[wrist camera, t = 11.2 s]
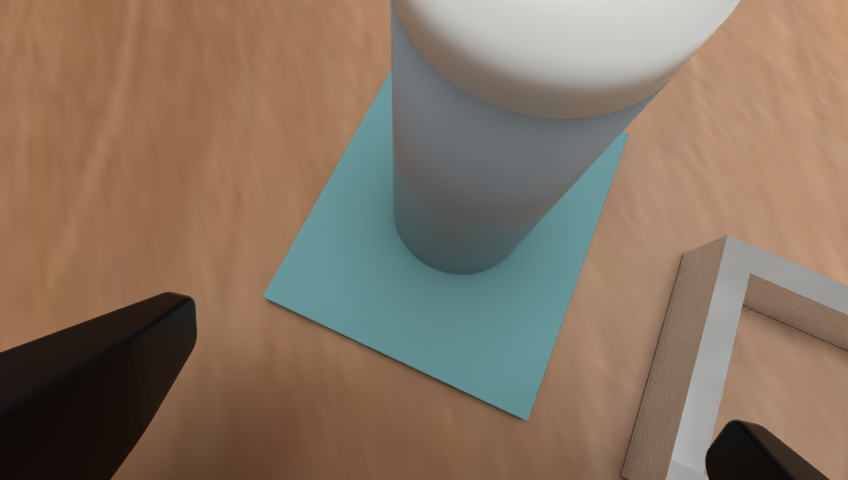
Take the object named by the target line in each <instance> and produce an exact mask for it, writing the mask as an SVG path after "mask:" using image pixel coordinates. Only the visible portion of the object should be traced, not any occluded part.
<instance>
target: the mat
mask: <svg viewBox="0 0 848 480" xmlns="http://www.w3.org/2000/svg"><path fill="white" fill-rule="evenodd" d="M627 137H628V133H625V132H622V133H621V134H620V135H619V136H618V137H617V138H616V139H615V140H614V141H613V143H612V144H611V145H610V146H609V147H608V148H607V149H606V150H605V151H604V152H603V153H602V154H601V156H600V157H599V158H598V159H597V160H596V161H595V162H594V163H593V164H592V165H591V166H590V168H589V169H588V170H587V171H586V172H585V173H584V174H583V175H582V176H581V177H580V178H579V180H578V181H577V182H576V183H575V184H574V185H573V186H572V187H571V188H570V189H569V190H568V191H567V193H566V194H565V195H564V196H563V197H562V198H561V199H560V200H559V201H558V202H557V203H556V205H555V206H554V207H553V208H552V209H551V210H550V211H549V212H548V213H547V214H546V215H545V217H544V218H543V219H542V220H541V221H540V222H539V223H538V224H537V225H536V226H535V227H534V228H533V230H532V231H531V232H530V233H529V234H528V235H527V236H526V237H525V238H524V239H523V240H522V242H521V243H520V244H519V245H518V246H517V247H516V248H515V249H514V250H513V251H512V252H511V253H510V254H509V255H508V256H507V257H506V258H505V259H504V260H503V261H502V262H500V263H499V264H498V265H496V266H494V267H492V268H490V269H488V270H485V271H482V272H478V273H474V274H465V275H464V274H451V273H446V272H442V271H439V270H436V269H434V268H432V267H430V266H428V265H426V264H425V263H423V262H421V261H420V260H419V259H418V258H416V257H415V256H414V255H413V254H412V253H411V252H410V251H409V250H408V248H407V247H406V246H405V244H404V243H403V241H402V239H401V237H400V236H399V233H398V230H397V228H396V224H395V220H394V198H393V129H392V70H391V71H390V73H389V75H388V77H387V78H386V80H385V82H384V84H383V85H382V87H381V89H380V91H379V93H378V94H377V96H376V98H375V100H374V101H373V103H372V105H371V107H370V108H369V110H368V112H367V114H366V116H365V117H364V119H363V121H362V123H361V124H360V126H359V128H358V130H357V131H356V133H355V135H354V137H353V138H352V140H351V142H350V144H349V146H348V147H347V149H346V151H345V153H344V154H343V156H342V158H341V160H340V161H339V163H338V165H337V167H336V169H335V170H334V172H333V174H332V176H331V177H330V179H329V181H328V183H327V184H326V186H325V188H324V190H323V191H322V193H321V195H320V197H319V199H318V200H317V202H316V204H315V206H314V207H313V209H312V211H311V213H310V214H309V216H308V218H307V220H306V221H305V223H304V225H303V227H302V229H301V230H300V232H299V234H298V236H297V237H296V239H295V241H294V243H293V244H292V246H291V248H290V250H289V252H288V253H287V255H286V257H285V259H284V260H283V262H282V264H281V266H280V267H279V269H278V271H277V273H276V274H275V276H274V278H273V280H272V282H271V283H270V285H269V287H268V289H267V290H266V292H265V294H264V296H263V297H264V298H266V299H268V300H270V301H272V302H274V303H276V304H278V305H281V306H283V307H285V308H287V309H289V310H291V311H293V312H295V313H298V314H300V315H302V316H304V317H306V318H308V319H310V320H312V321H315V322H317V323H319V324H321V325H323V326H325V327H327V328H329V329H332V330H334V331H336V332H338V333H340V334H342V335H344V336H346V337H349V338H351V339H353V340H355V341H357V342H359V343H361V344H363V345H366V346H368V347H370V348H372V349H374V350H376V351H378V352H380V353H383V354H385V355H387V356H389V357H391V358H393V359H395V360H397V361H400V362H402V363H404V364H406V365H408V366H410V367H412V368H414V369H417V370H419V371H421V372H423V373H425V374H427V375H429V376H431V377H434V378H436V379H438V380H440V381H442V382H444V383H446V384H448V385H451V386H453V387H455V388H457V389H459V390H461V391H463V392H465V393H468V394H470V395H472V396H474V397H476V398H478V399H480V400H482V401H485V402H487V403H489V404H491V405H493V406H495V407H497V408H500V409H502V410H504V411H506V412H508V413H510V414H512V415H514V416H517V417H519V418H521V419H523V420H526V421H528V419H529V416H530V413H531V410H532V408H533V405H534V402H535V399H536V396H537V393H538V390H539V388H540V385H541V382H542V379H543V376H544V373H545V371H546V368H547V365H548V362H549V359H550V356H551V353H552V351H553V348H554V345H555V342H556V339H557V336H558V334H559V331H560V328H561V325H562V322H563V319H564V316H565V314H566V311H567V308H568V305H569V302H570V299H571V297H572V294H573V291H574V288H575V285H576V282H577V280H578V277H579V274H580V271H581V268H582V265H583V262H584V260H585V257H586V254H587V251H588V248H589V245H590V243H591V240H592V237H593V234H594V231H595V228H596V225H597V223H598V220H599V217H600V214H601V211H602V208H603V206H604V203H605V200H606V197H607V194H608V191H609V189H610V186H611V183H612V180H613V177H614V174H615V171H616V169H617V166H618V163H619V160H620V157H621V154H622V152H623V149H624V146H625V143H626V140H627Z"/></svg>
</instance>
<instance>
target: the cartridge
mask: <svg viewBox="0 0 848 480" xmlns="http://www.w3.org/2000/svg"><path fill="white" fill-rule="evenodd" d="M739 2H740V0H391V60H392V129H393V198H394V220H395V224H396V228H397V230H398V233H399V236H400V237H401V239H402V241H403V243H404V244H405V246H406V247H407V248H408V250H409V251H410V252H411V253H412V254H413V255H414V256H415V257H416V258H418V259H419V260H420V261H421V262H423V263H425V264H426V265H428V266H430V267H432V268H434V269H436V270H439V271H442V272H446V273H451V274H464V275H465V274H474V273H478V272H482V271H485V270H488V269H490V268H492V267H494V266H496V265H498V264H499V263H500V262H502V261H503V260H504V259H505V258H506V257H507V256H508V255H509V254H510V253H511V252H512V251H513V250H514V249H515V248H516V247H517V246H518V245H519V244H520V243H521V242H522V240H523V239H524V238H525V237H526V236H527V235H528V234H529V233H530V232H531V231H532V230H533V228H534V227H535V226H536V225H537V224H538V223H539V222H540V221H541V220H542V219H543V218H544V217H545V215H546V214H547V213H548V212H549V211H550V210H551V209H552V208H553V207H554V206H555V205H556V203H557V202H558V201H559V200H560V199H561V198H562V197H563V196H564V195H565V194H566V193H567V191H568V190H569V189H570V188H571V187H572V186H573V185H574V184H575V183H576V182H577V181H578V180H579V178H580V177H581V176H582V175H583V174H584V173H585V172H586V171H587V170H588V169H589V168H590V166H591V165H592V164H593V163H594V162H595V161H596V160H597V159H598V158H599V157H600V156H601V154H602V153H603V152H604V151H605V150H606V149H607V148H608V147H609V146H610V145H611V144H612V143H613V141H614V140H615V139H616V138H617V137H618V136H619V135H620V134H621V133H622V132H623V131H624V129H625V128H626V127H627V126H628V125H629V124H630V123H631V122H632V121H633V120H634V119H635V118H636V116H637V115H638V114H639V113H640V112H641V111H642V110H643V109H644V108H645V107H646V106H647V104H648V103H649V102H650V101H651V100H652V99H653V98H654V97H655V96H656V95H657V94H658V92H659V91H660V90H661V89H662V88H663V87H664V86H665V85H666V84H667V83H668V82H669V81H670V79H671V78H672V77H673V76H674V75H675V74H676V73H677V72H678V71H679V70H680V69H681V67H682V66H683V65H684V64H685V63H686V62H687V61H688V60H689V59H690V58H691V57H692V55H693V54H694V53H695V52H696V51H697V50H698V49H699V48H700V47H701V46H702V45H703V44H704V42H705V41H706V40H707V39H708V38H709V37H710V36H711V35H712V34H713V33H714V32H715V30H716V29H717V28H718V27H719V26H720V25H721V24H722V23H723V22H724V21H725V20H726V19H727V17H728V16H729V15H730V14H731V12H732V11H733V10H734V8H735V7H736V6H737V4H738V3H739Z"/></svg>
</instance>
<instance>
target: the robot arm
mask: <svg viewBox="0 0 848 480" xmlns="http://www.w3.org/2000/svg"><path fill="white" fill-rule="evenodd" d="M196 339H197V325H196V307H195V302H194V300H193V298H191V297H190V296H186V295H182V294H178V293H173V292H165V293H162V294H159V295H156V296H154V297H151V298H148V299H146V300H143V301H140V302H137V303H135V304H132V305H129V306H126V307H124V308H121V309H118V310H115V311H113V312H110V313H107V314H104V315H102V316H99V317H96V318H94V319H91V320H88V321H85V322H83V323H80V324H77V325H74V326H72V327H69V328H66V329H63V330H61V331H58V332H55V333H52V334H50V335H47V336H44V337H42V338H39V339H36V340H33V341H31V342H28V343H25V344H22V345H20V346H17V347H14V348H11V349H9V350H6V351H3V352H0V480H110V479H111V478H112V477H113V475H114V474H115V473H116V471H117V470H118V468H119V467H120V466H121V464H122V463H123V462H124V460H125V459H126V457H127V456H128V455H129V453H130V452H131V451H132V449H133V448H134V446H135V445H136V444H137V442H138V441H139V439H140V438H141V436H142V435H143V433H144V432H145V430H146V429H147V427H148V426H149V424H150V422H151V421H152V419H153V417H154V416H155V414H156V412H157V411H158V409H159V407H160V405H161V404H162V402H163V400H164V399H165V397H166V395H167V393H168V392H169V390H170V388H171V387H172V385H173V383H174V381H175V380H176V378H177V376H178V374H179V373H180V371H181V369H182V368H183V366H184V364H185V362H186V361H187V359H188V357H189V356H190V354H191V352H192V350H193V348H194V346H195V343H196ZM705 466H706V471H707V475H708V479H709V480H830V479H828V478H827V477H826V476H825V475H823V474H822V473H821V472H820V471H818V470H817V469H816V468H815V467H813V466H812V465H811V464H810V463H808V462H807V461H806V460H805V459H803V458H802V457H801V456H800V455H798V454H797V453H796V452H794V451H793V450H792V449H791V448H789V447H788V446H787V445H786V444H784V443H783V442H782V441H781V440H779V439H778V438H777V437H776V436H774V435H773V434H772V433H771V432H769V431H768V430H767V429H766V428H764V427H763V426H761V425H758V424H755V423H750V422H746V421H741V420H732V421H730V422H728V423H727V424H726V425H725V427H724V428H723V430H722V431H721V432H720V434H719V435H718V436H717V438H716V439H715V440H714V442H713V443H712V445H711V446H710V447H709V449H708V450H707V453H706V457H705Z"/></svg>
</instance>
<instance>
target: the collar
mask: <svg viewBox="0 0 848 480" xmlns="http://www.w3.org/2000/svg"><path fill="white" fill-rule="evenodd" d="M743 305H744V306H746V307H749V308H751V309H753V310H756V311H758V312H760V313H762V314H765V315H767V316H769V317H772V318H774V319H776V320H779V321H781V322H783V323H785V324H788V325H790V326H792V327H795V328H797V329H799V330H802V331H804V332H806V333H808V334H811V335H813V336H815V337H818V338H820V339H822V340H825V341H827V342H829V343H831V344H834V345H836V346H838V347H841V348H843V349H845V350H848V286H847V285H845V284H842V283H840V282H838V281H835V280H833V279H831V278H828V277H826V276H824V275H821V274H819V273H817V272H814V271H812V270H809V269H807V268H805V267H802V266H800V265H798V264H795V263H793V262H791V261H788V260H786V259H784V258H781V257H779V256H776V255H774V254H772V253H769V252H767V251H765V250H762V249H760V248H758V247H755V246H753V245H751V244H748V243H746V242H743V241H741V240H739V239H736V238H734V237H732V236H729V235H726V236H724V237H722V238H719V239H717V240H715V241H712V242H710V243H708V244H705V245H703V246H700V247H698V248H696V249H693V250H691V251H689V252H686V253H684V254H683V257H682V261H681V264H680V268H679V271H678V275H677V278H676V282H675V285H674V289H673V293H672V296H671V300H670V303H669V307H668V310H667V314H666V317H665V321H664V324H663V328H662V331H661V335H660V339H659V342H658V346H657V349H656V353H655V356H654V360H653V363H652V367H651V370H650V374H649V378H648V381H647V385H646V388H645V392H644V395H643V399H642V402H641V406H640V409H639V413H638V417H637V420H636V424H635V427H634V431H633V434H632V438H631V441H630V445H629V448H628V452H627V456H626V459H625V463H624V466H623V470H622V473H621V476H623V477H625V478H627V479H629V480H709V479H708V476H706V475H704V470H705V457H706V453H707V450H708V449H709V447H710V444H711V440H712V435H713V431H714V427H715V423H716V418H717V414H718V410H719V405H720V401H721V397H722V392H723V388H724V384H725V379H726V375H727V371H728V366H729V362H730V358H731V353H732V349H733V345H734V340H735V336H736V332H737V327H738V323H739V319H740V314H741V310H742V306H743Z"/></svg>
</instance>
